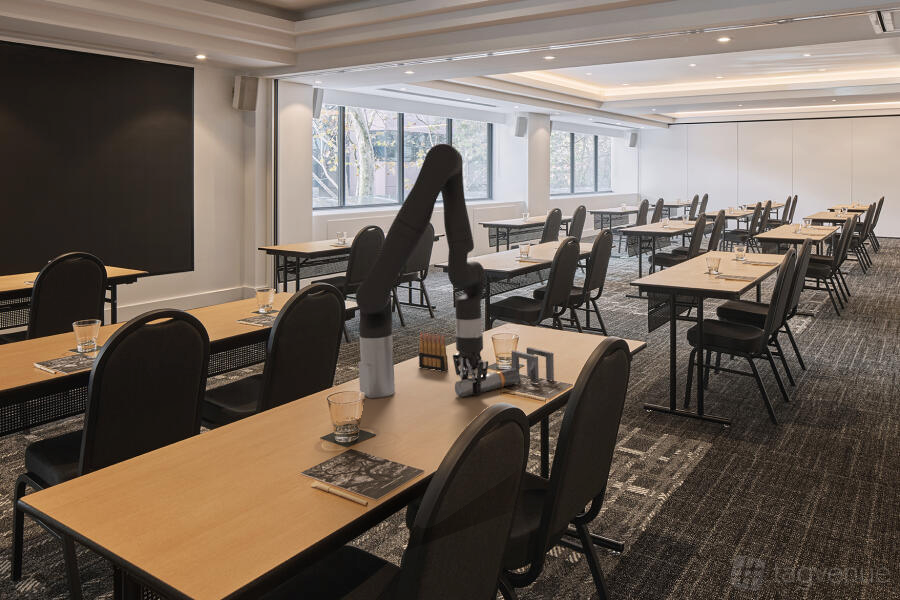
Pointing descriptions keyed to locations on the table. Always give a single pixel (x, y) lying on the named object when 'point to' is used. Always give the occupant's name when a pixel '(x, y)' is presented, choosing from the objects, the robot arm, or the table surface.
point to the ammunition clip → (433, 352)
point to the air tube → (488, 382)
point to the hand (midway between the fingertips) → (471, 392)
